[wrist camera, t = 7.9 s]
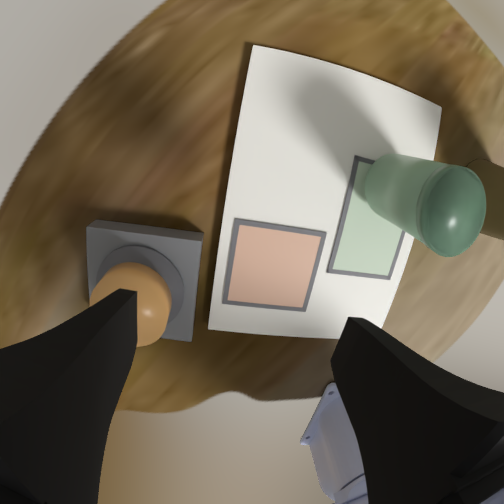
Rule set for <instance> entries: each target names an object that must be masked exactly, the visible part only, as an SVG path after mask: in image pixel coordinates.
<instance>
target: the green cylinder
mask: <svg viewBox="0 0 504 504" xmlns="http://www.w3.org/2000/svg"><path fill="white" fill-rule="evenodd" d="M365 195H366V199H367V202H368V204H369V206H370V207H371V209H372V210H373V211H374V212H375V213H376V214H377V215H379V216H381V217H382V218H384V219H386V220H387V221H389V222H390V223H392V224H394V225H395V226H397V227H399V228H400V229H402V230H403V231H405V232H407V233H408V234H410V235H411V236H413V237H415V238H416V239H418V240H419V241H421V242H422V243H424V244H425V245H426V246H427V247H428V248H430V249H431V250H433V251H434V252H435V253H437V254H439V255H441V256H444V257H453V256H456V255H459V254H461V253H463V252H464V251H465V250H467V249H468V248H469V247H470V246H471V245H472V244H473V242H474V241H475V240H476V238H477V236H478V235H479V233H480V231H481V228H482V226H483V222H484V218H485V213H486V196H485V191H484V187H483V185H482V182H481V180H480V179H479V177H478V176H477V175H476V174H475V172H473V171H472V170H471V169H469V168H466V167H462V166H458V165H452V164H450V165H449V164H445V163H441V162H436V161H431V160H427V159H422V158H417V157H412V156H406V155H401V154H393V153H392V154H387V155H384V156H382V157H380V158H379V159H377V160H376V161H375V162H374V163H373V164H372V166H371V167H370V169H369V171H368V173H367V176H366V180H365Z"/></svg>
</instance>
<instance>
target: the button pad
mask: <svg viewBox="0 0 504 504" xmlns="http://www.w3.org/2000/svg"><path fill="white" fill-rule="evenodd" d="M203 235H204V233H201V232H193V231H185V230H178V229H170V228H162V227H154V226H146V225H138V224H130V223H122V222H114V221H105V220H97V219H96V220H95V221H93V222H92V223H91V224H89V225H88V226H87V227H86V244H87V270H88V285H89V298H90V297H91V293H92V291H93V289H94V288H95V287H96V285H97V284H98V283H99V281H100V280H101V279H102V277H103V276H104V275H105V274H106V272H107V271H108V270H109V269H110V268H112V267H113V266H115V265H117V264H120V263H125V262H135V263H140V264H143V265H146V266H148V267H150V268H151V269H153V270H154V271H156V272H157V273H158V274H159V275H160V276H161V277H162V278H163V279H164V280H165V282H166V283H167V285H168V287H169V289H170V293H171V297H172V305H171V310H170V314H169V317H168V321H167V325H166V328H165V331H164V333H163V334H162V336H161V337H160V338H166V339H173V340H180V341H187V342H192V336H193V328H194V317H195V306H196V296H197V286H198V277H199V268H200V259H201V251H202V243H203Z"/></svg>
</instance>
